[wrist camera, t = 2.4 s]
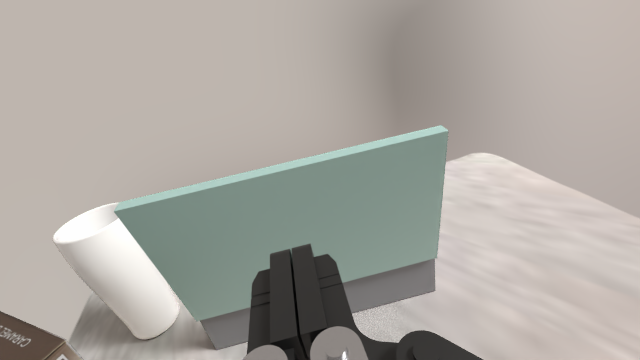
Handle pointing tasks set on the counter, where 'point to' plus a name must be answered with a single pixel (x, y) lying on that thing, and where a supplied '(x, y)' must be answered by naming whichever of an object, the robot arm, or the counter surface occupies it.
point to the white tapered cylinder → (118, 271)
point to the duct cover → (295, 218)
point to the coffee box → (31, 342)
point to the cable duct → (359, 297)
